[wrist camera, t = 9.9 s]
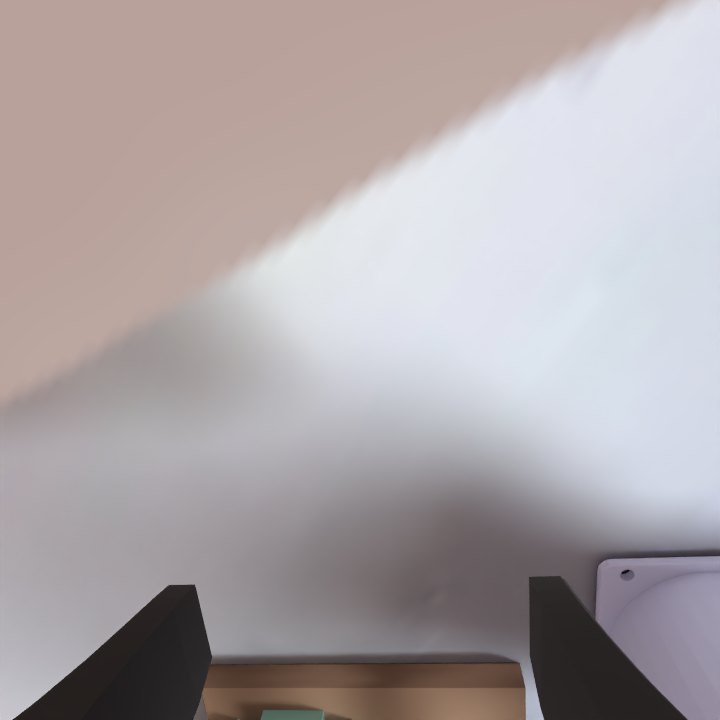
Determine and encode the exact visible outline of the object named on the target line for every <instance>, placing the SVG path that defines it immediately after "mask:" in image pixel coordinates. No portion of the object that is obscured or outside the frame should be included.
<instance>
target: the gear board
mask: <svg viewBox="0 0 720 720" xmlns="http://www.w3.org/2000/svg"><path fill="white" fill-rule="evenodd" d="M202 696H203V700H204V705H205V709H206V713H207V717H208V720H237V719H240V720H261V717H262V714H263V710H323V711H324V717H325V720H352V719H353V720H526V707H525V684H524V680H523V676H522V671H521V667H520V663H482V664H300V665H210V667H209V670H208V674H207V678H206V681H205V685H204V688H203V692H202Z"/></svg>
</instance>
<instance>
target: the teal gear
mask: <svg viewBox="0 0 720 720" xmlns="http://www.w3.org/2000/svg"><path fill="white" fill-rule="evenodd" d="M237 720H240V719H237ZM261 720H325V717H324V711H323V710H263V714H262V717H261ZM352 720H353V719H352Z"/></svg>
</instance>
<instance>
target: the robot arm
mask: <svg viewBox="0 0 720 720" xmlns="http://www.w3.org/2000/svg"><path fill="white" fill-rule="evenodd" d="M624 570H630V571H629V572H628V573H626V574H621V572H623V571H624ZM529 589H530V658H531V663H532V668H533V673H534V678H535V683H536V688H537V693H538V697H539V702H540V707H541V710H542V714H543V717H544V720H720V556H706V557H668V558H630V559H608V560H605V561H603V562H601V564H600V565H599V566H598V570H597V592H596V616H595V618H594V617H593V616H592V615H591V614H590V612H589V611H588V610H587V608H586V607H585V606H584V605H583V603H582V602H581V601H580V600H579V598H578V597H577V596H576V594H575V593H574V592H573V590H572V589H571V588H570V586H569V585H568V584H567V582H566V581H565V580H564V579H563V578H561V577H560V576H549V577H529ZM211 659H212V655H211V651H210V647H209V642H208V638H207V634H206V630H205V625H204V621H203V617H202V612H201V608H200V604H199V600H198V595H197V591H196V587H195V585H169V586H167V587H166V588H165V589H164V590H163V591H162V592H160V593H159V594H158V595H157V596H156V597H155V598H154V599H152V600H151V601H150V602H149V603H148V604H147V605H146V606H145V607H144V608H143V609H142V610H140V611H139V612H138V613H137V614H136V615H135V616H134V617H133V618H132V619H131V620H130V621H128V622H127V623H126V624H125V625H124V626H123V627H122V628H121V629H120V630H119V631H118V632H116V633H115V634H114V635H113V636H112V637H111V638H110V639H109V640H108V641H106V642H105V643H104V644H103V645H102V646H101V647H100V648H99V649H98V650H96V651H95V652H94V653H93V654H92V655H91V656H90V657H89V658H87V659H86V660H85V661H84V662H83V663H82V664H80V665H79V666H78V667H77V668H76V669H74V670H73V671H72V672H71V673H70V674H69V675H67V676H66V677H65V678H64V679H63V680H61V681H60V682H59V683H58V684H57V685H55V686H54V687H53V688H52V689H51V690H49V691H48V692H47V693H46V694H45V695H44V696H42V697H41V698H40V699H39V700H37V701H36V702H35V703H34V704H32V705H31V706H30V707H29V708H27V709H26V710H25V711H23V712H22V713H21V714H20V715H18V716H17V717H16V718H14V719H13V720H193V718H194V716H195V713H196V711H197V708H198V705H199V702H200V698H201V695H202V692H203V688H204V685H205V681H206V678H207V674H208V670H209V667H210V663H211Z"/></svg>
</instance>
